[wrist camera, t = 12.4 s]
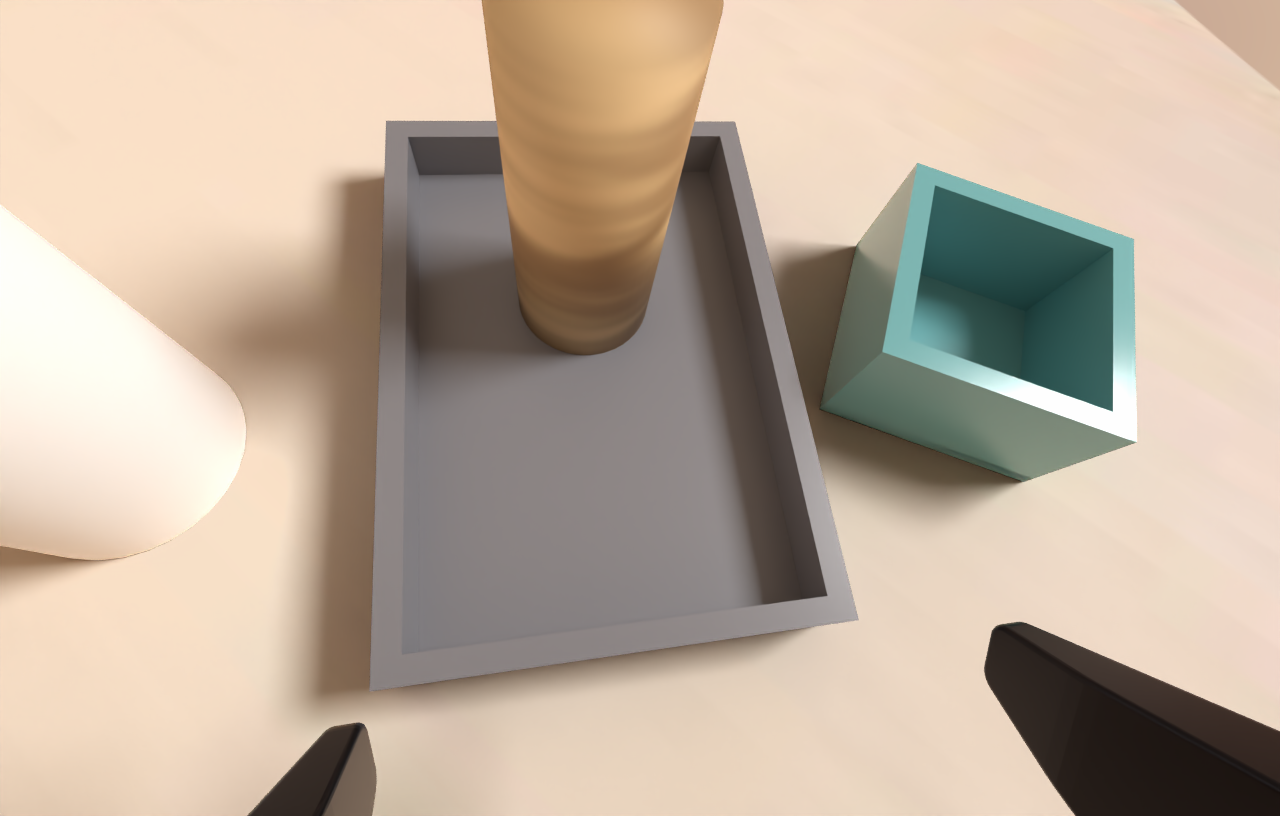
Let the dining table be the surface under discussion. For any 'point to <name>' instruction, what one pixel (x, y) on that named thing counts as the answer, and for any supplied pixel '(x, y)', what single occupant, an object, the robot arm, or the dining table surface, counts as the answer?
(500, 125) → the dowel pin
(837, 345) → the teal open box
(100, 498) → the cylindrical container
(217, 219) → the dining table surface
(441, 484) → the charcoal tray
